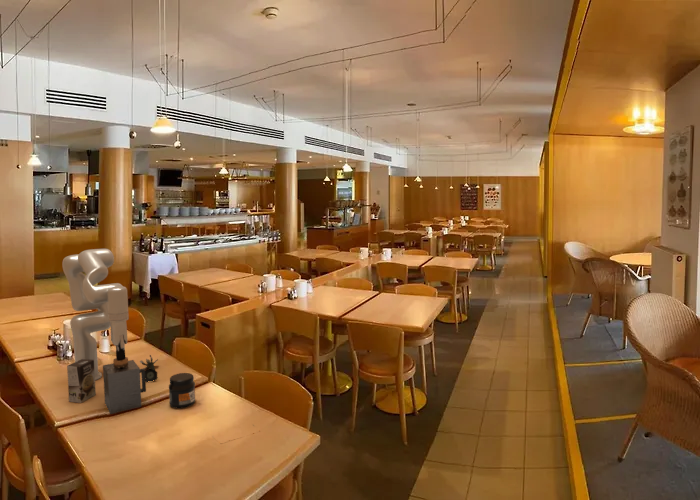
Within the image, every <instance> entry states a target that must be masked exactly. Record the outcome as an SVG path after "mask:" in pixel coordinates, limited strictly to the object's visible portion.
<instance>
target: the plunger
mask: <svg viewBox="0 0 700 500" xmlns="http://www.w3.org/2000/svg"><path fill="white" fill-rule="evenodd" d="M112 361H113V362H112V364H114V368H123V367H126V366H128V361H129V357H127V356H125V359H123V360H117V359H116V357H115V358H114V359H113V360H112Z"/></svg>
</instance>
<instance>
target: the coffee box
mask: <svg viewBox="0 0 700 500" xmlns="http://www.w3.org/2000/svg"><path fill="white" fill-rule="evenodd" d="M66 368H67V370H66V371H67V385H68V386H67V389H68V390H67V391H68V402H70V403H71V402H72V403H78V404H82V403H84V402H85V401H87V400H88V399H91V398H93V397H94V396H95V395H96V380H95V373H94V360H88V359H81V360H79V361H77V362H75V361H74V362H73V363H70V364H68V365H67V367H66Z"/></svg>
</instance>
